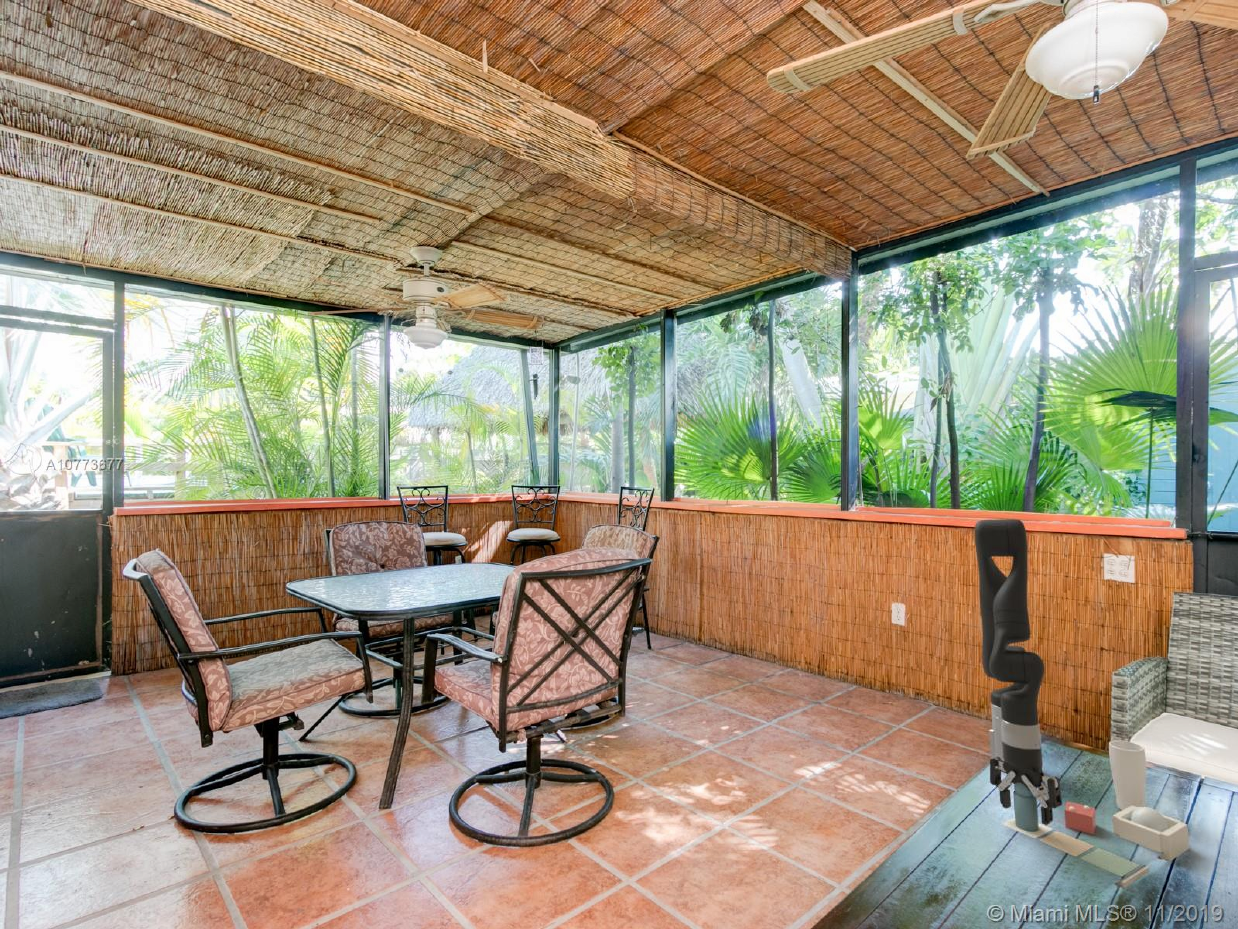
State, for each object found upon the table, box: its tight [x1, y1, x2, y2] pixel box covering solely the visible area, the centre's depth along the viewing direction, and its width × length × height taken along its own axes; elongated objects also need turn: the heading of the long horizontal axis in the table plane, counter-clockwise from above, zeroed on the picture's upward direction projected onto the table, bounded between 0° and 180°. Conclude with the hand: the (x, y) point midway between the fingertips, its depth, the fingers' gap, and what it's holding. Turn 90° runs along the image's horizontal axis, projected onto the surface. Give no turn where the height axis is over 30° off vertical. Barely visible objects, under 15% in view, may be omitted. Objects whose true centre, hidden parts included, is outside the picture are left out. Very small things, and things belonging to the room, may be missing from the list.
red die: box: [1064, 801, 1097, 836], centre depth 140 cm, size 5×5×6 cm
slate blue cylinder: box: [1013, 783, 1039, 832], centre depth 141 cm, size 4×4×10 cm
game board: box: [1001, 817, 1150, 889], centre depth 134 cm, size 25×10×1 cm, turn 28°
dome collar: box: [1112, 805, 1190, 862], centre depth 135 cm, size 10×10×5 cm
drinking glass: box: [1108, 739, 1147, 811], centre depth 149 cm, size 7×7×15 cm
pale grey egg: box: [1131, 806, 1168, 832], centre depth 135 cm, size 6×6×7 cm
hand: (1026, 815), depth 141 cm, fingers open, 8 cm apart
